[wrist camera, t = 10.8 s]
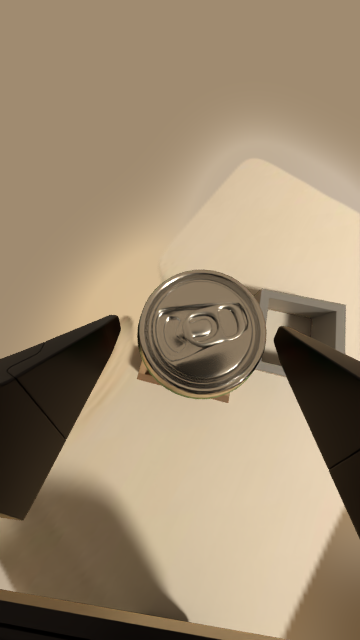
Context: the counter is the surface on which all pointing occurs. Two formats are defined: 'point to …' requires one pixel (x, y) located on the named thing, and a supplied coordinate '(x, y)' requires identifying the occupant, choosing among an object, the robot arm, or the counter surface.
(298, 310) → the box
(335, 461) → the robot arm
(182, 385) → the soda can
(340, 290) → the counter surface
